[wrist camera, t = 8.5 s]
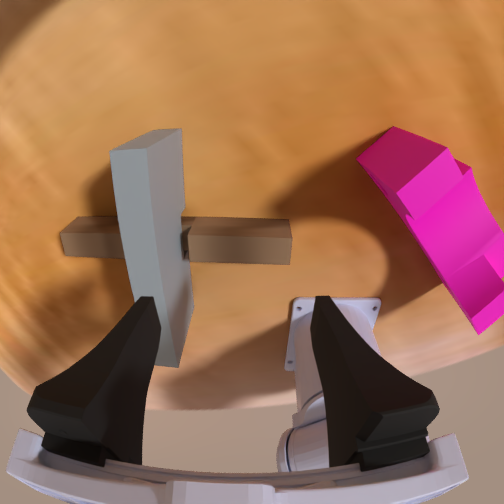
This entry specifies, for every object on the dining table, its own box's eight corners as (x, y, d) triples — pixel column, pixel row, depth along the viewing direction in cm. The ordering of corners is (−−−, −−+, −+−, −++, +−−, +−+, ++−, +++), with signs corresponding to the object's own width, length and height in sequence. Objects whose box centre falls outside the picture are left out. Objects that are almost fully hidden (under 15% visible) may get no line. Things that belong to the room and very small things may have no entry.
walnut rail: (288, 219, 23) (292, 238, 20) (286, 243, 24) (289, 264, 21) (77, 216, 23) (59, 233, 20) (82, 238, 24) (65, 256, 21)
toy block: (488, 241, 23) (533, 286, 17) (441, 281, 25) (478, 335, 19) (415, 105, 18) (476, 120, 12) (354, 158, 20) (396, 193, 14)
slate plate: (194, 306, 27) (178, 367, 21) (172, 305, 27) (152, 364, 21) (181, 128, 20) (146, 148, 13) (153, 130, 20) (109, 150, 14)
